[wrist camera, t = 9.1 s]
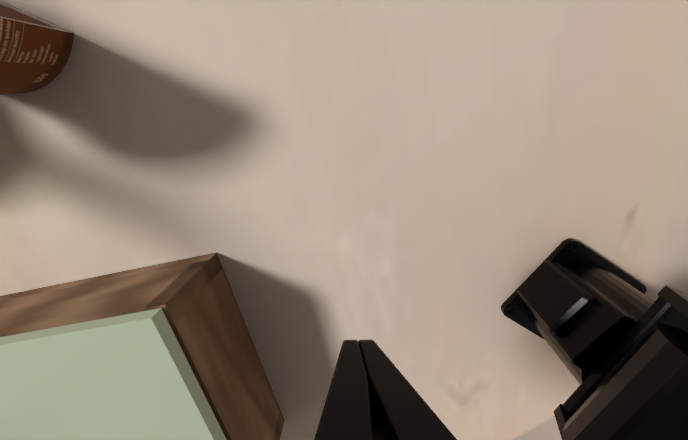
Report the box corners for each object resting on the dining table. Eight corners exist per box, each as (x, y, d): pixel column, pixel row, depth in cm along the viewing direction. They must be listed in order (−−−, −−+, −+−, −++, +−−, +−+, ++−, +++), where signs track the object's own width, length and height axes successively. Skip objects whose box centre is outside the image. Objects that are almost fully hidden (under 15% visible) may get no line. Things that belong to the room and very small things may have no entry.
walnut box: (216, 252, 22) (165, 304, 16) (284, 420, 27) (263, 504, 21) (-25, 301, 24) (-140, 360, 19) (79, 446, 30) (12, 526, 24)
